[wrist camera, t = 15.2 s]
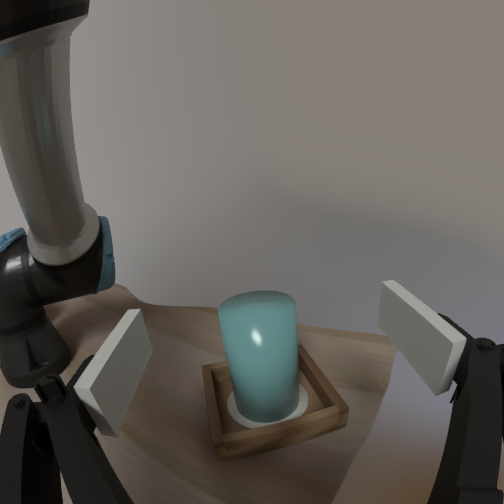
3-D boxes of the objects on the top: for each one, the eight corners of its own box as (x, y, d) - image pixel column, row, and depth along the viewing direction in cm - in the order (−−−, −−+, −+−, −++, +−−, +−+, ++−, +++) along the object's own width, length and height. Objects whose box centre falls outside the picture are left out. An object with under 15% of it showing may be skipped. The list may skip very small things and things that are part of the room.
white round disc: (235, 439, 23) (234, 437, 23) (222, 386, 32) (222, 384, 32) (320, 417, 25) (321, 414, 25) (292, 371, 33) (292, 368, 33)
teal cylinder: (243, 429, 24) (223, 331, 21) (231, 388, 31) (214, 298, 28) (308, 412, 25) (308, 313, 23) (287, 375, 32) (281, 285, 29)
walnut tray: (219, 460, 21) (213, 444, 20) (206, 383, 33) (201, 365, 33) (345, 426, 23) (348, 407, 23) (302, 362, 36) (301, 344, 35)
